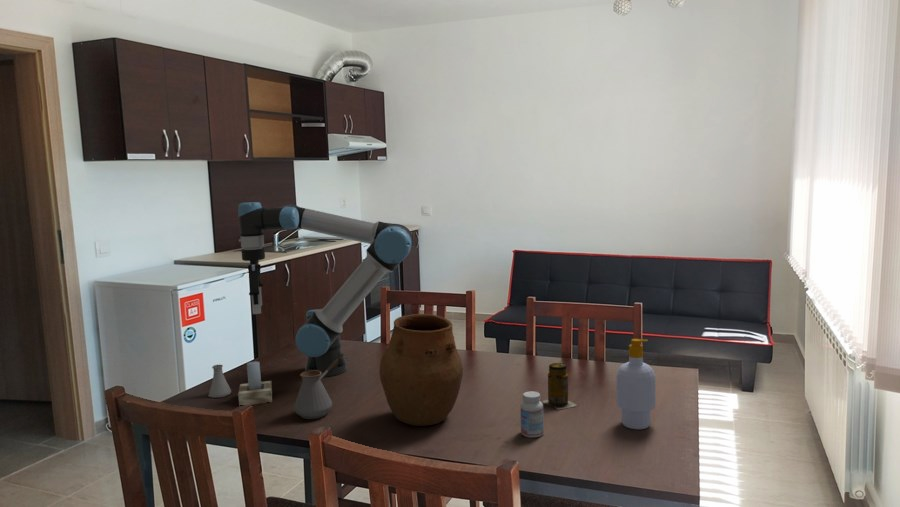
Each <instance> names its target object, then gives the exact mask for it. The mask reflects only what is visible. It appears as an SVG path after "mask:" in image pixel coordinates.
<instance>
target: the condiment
mask: <svg viewBox="0 0 900 507" xmlns="http://www.w3.org/2000/svg"><path fill="white" fill-rule="evenodd" d="M567 368H568V367H567V365H566V364H565V363H562V362H553V363H550V364H549V365H548V374H547V399H545V400H542V401H541V402H542V403H543V404H546V405H547V406H550V407H551V408H554V409H556V410H558V411H559V410H564V409H569V408H573V407H577V406H578V404H576V403H574V402H572V401H570V400H569V374H568V373H567Z"/></svg>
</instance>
